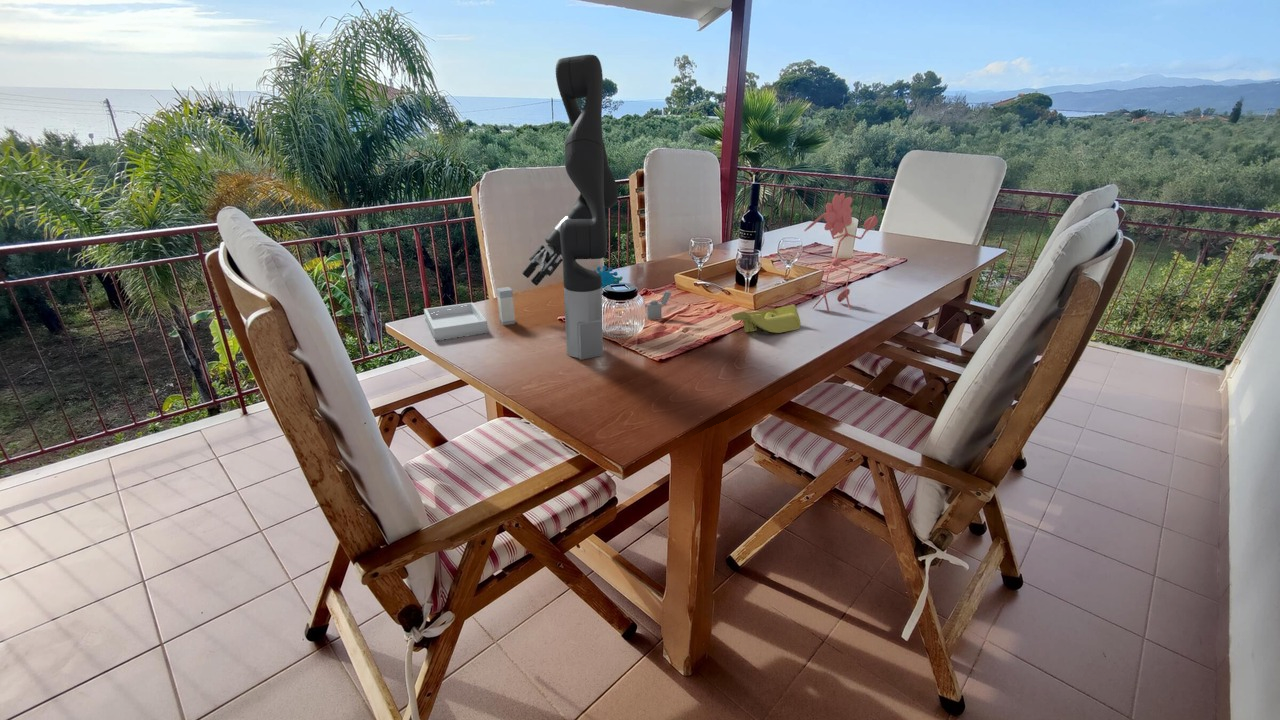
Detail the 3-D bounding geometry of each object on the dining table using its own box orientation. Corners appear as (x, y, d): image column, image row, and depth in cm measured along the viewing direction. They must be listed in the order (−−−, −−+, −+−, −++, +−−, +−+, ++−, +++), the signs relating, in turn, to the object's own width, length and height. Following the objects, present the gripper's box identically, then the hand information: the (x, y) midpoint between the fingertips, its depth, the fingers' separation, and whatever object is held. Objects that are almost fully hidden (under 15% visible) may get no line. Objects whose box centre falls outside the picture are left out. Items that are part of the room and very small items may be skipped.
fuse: (515, 323, 158) (512, 290, 154) (502, 325, 156) (499, 291, 152) (511, 319, 161) (508, 286, 157) (499, 321, 159) (496, 288, 155)
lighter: (648, 318, 163) (648, 293, 159) (646, 317, 164) (647, 291, 161) (670, 317, 164) (671, 291, 161) (668, 315, 166) (669, 289, 163)
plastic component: (772, 309, 165) (798, 303, 157) (776, 333, 165) (802, 328, 157) (724, 316, 154) (749, 310, 146) (728, 342, 154) (754, 337, 146)
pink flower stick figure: (870, 305, 176) (889, 193, 162) (811, 318, 165) (826, 198, 151) (834, 294, 189) (849, 188, 175) (777, 304, 177) (788, 193, 164)
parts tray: (488, 332, 151) (486, 320, 149) (435, 341, 145) (433, 328, 143) (474, 313, 165) (472, 302, 164) (425, 320, 159) (423, 308, 158)
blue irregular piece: (593, 289, 184) (591, 263, 188) (589, 297, 189) (587, 272, 193) (624, 291, 188) (621, 265, 191) (619, 299, 193) (617, 274, 197)
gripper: (547, 223, 160) (512, 265, 160) (564, 232, 149) (526, 277, 149) (565, 240, 165) (531, 281, 165) (583, 249, 153) (546, 294, 153)
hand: (529, 279), depth 157 cm, fingers open, 8 cm apart
